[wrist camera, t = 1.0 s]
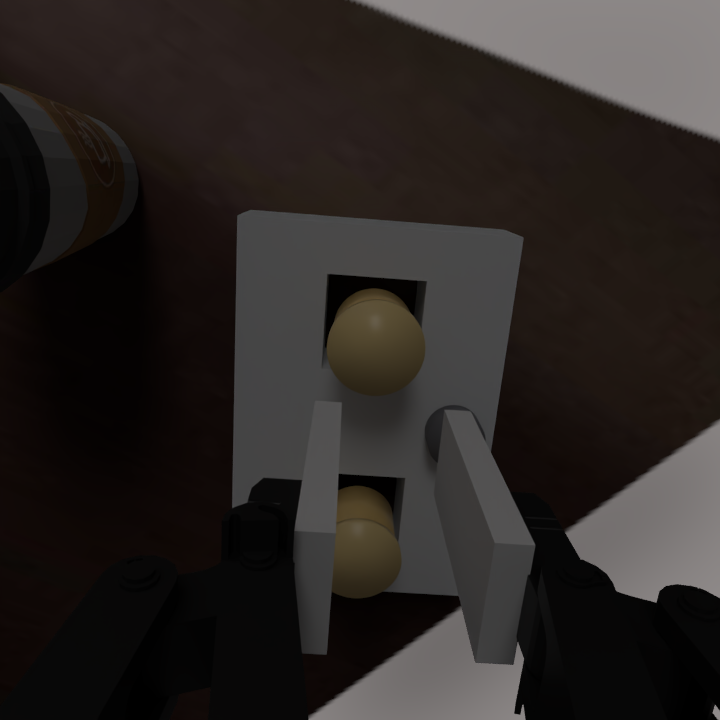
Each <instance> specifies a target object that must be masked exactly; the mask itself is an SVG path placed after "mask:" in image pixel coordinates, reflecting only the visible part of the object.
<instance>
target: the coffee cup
mask: <svg viewBox="0 0 720 720" xmlns="http://www.w3.org/2000/svg"><path fill="white" fill-rule="evenodd" d="M138 184H139V179H138V174H137V169H136V164H135V162H134V160H133V157H132V155H131V153H130V151H129V149H128V147H127V146H126V145H125V143H124V142H123V141H122V139H121V138H120V137H119V135H118V134H117V133H116V132H114V131H113V130H112V129H111V128H109V127H108V126H107V125H106V124H104V123H103V122H101V121H99V120H96V119H94V118H92V117H90V116H88V115H85V114H83V113H80V112H78V111H76V110H74V109H71V108H69V107H67V106H65V105H63V104H60V103H57V102H55V101H52V100H49V99H47V98H44V97H41V96H39V95H36V94H33V93H31V92H28V91H25V90H23V89H20V88H17V87H15V86H12V85H8V84H2V83H0V292H2V291H4V290H5V289H6V288H8V287H9V286H10V285H11V284H13V283H14V282H15V281H16V280H18V279H19V278H20V277H21V276H23V275H24V274H26V273H28V272H30V271H34V270H36V269H39V268H41V267H44V266H46V265H49V264H51V263H54V262H56V261H58V260H60V259H62V258H64V257H66V256H68V255H70V254H72V253H74V252H76V251H79V250H81V249H83V248H85V247H87V246H89V245H91V244H93V243H94V242H95V241H96V240H98V239H100V238H102V237H104V236H106V235H108V234H110V233H112V232H114V231H115V230H116V229H117V228H119V227H120V226H121V225H123V224H124V223H125V221H126V220H127V218H128V217H129V216H130V214H131V213H132V211H133V209H134V206H135V203H136V200H137V197H138Z"/></svg>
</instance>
